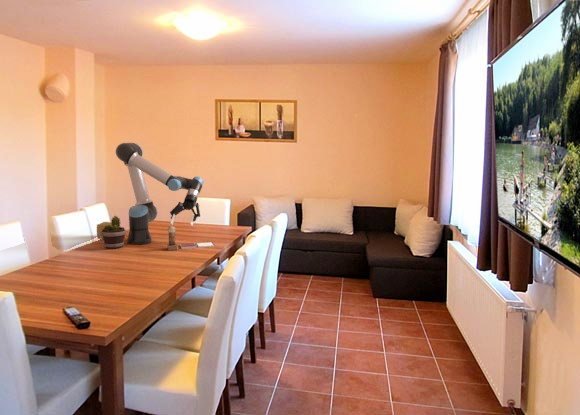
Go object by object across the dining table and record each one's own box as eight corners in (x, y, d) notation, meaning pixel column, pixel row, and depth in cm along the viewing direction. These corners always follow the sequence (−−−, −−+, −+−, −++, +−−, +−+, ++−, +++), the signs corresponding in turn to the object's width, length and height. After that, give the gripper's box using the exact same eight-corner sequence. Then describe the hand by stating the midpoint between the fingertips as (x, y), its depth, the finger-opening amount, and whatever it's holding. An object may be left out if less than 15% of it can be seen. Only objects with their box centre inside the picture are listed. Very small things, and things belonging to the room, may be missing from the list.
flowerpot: (118, 250, 265) (117, 217, 262) (95, 249, 268) (94, 216, 265) (131, 245, 279) (130, 214, 276) (109, 243, 282) (108, 212, 279)
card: (195, 243, 287) (195, 242, 287) (212, 242, 290) (212, 241, 290) (197, 247, 276) (197, 246, 276) (215, 246, 280) (215, 245, 280)
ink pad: (179, 245, 280) (179, 243, 280) (194, 244, 283) (194, 242, 283) (181, 248, 272) (181, 246, 272) (196, 247, 275) (196, 245, 275)
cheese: (118, 236, 305) (118, 222, 303) (111, 239, 294) (110, 224, 293) (104, 235, 306) (103, 221, 304) (96, 239, 295) (95, 224, 294)
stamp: (167, 248, 273) (166, 225, 271) (175, 247, 275) (175, 224, 273) (168, 250, 267) (167, 227, 265) (176, 250, 268) (176, 226, 266)
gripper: (211, 201, 289) (201, 228, 277) (176, 200, 295) (165, 226, 283) (207, 194, 283) (197, 222, 271) (172, 193, 289) (160, 219, 277)
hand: (180, 224), depth 277 cm, fingers open, 13 cm apart
